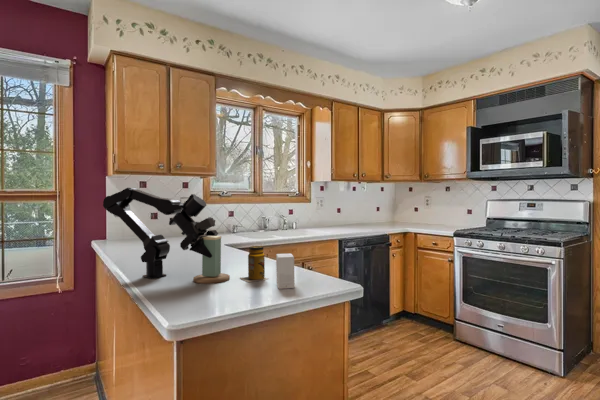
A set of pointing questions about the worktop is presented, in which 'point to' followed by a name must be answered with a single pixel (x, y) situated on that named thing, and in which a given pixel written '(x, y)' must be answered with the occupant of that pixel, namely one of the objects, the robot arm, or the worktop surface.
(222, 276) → the disc
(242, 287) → the worktop surface
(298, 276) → the worktop surface
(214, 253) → the tea tin
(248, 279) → the condiment
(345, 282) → the worktop surface
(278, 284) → the small box
